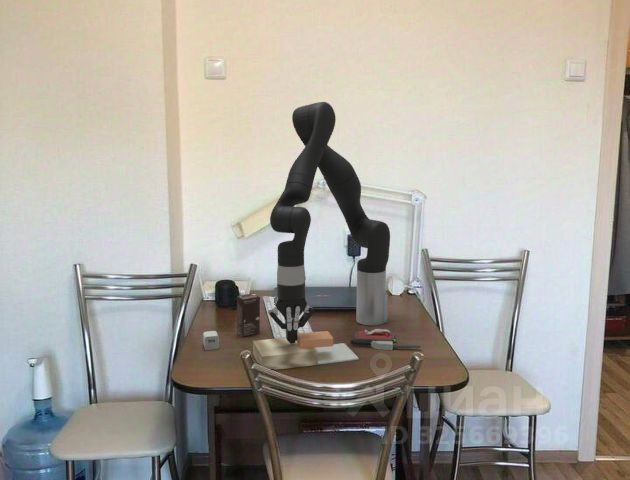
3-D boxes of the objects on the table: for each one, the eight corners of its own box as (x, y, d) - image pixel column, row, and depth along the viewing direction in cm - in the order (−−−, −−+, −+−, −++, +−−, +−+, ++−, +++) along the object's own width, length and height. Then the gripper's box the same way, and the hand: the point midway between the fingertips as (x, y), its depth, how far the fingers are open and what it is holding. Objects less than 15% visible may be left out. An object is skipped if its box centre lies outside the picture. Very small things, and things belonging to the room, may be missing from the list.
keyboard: (316, 342, 178) (316, 335, 178) (274, 345, 176) (274, 337, 176) (296, 300, 221) (296, 293, 220) (262, 301, 219) (262, 295, 219)
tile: (328, 338, 169) (328, 331, 168) (333, 346, 163) (333, 338, 162) (296, 340, 167) (296, 333, 166) (300, 348, 161) (300, 340, 160)
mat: (344, 344, 175) (344, 343, 175) (358, 359, 164) (358, 358, 164) (305, 348, 172) (305, 347, 172) (318, 364, 160) (318, 363, 160)
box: (243, 337, 180) (242, 299, 178) (236, 333, 184) (235, 295, 182) (261, 334, 184) (260, 296, 181) (254, 329, 187) (253, 292, 185)
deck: (305, 348, 172) (305, 335, 171) (317, 364, 160) (317, 350, 160) (253, 354, 167) (252, 340, 167) (262, 371, 156) (262, 356, 155)
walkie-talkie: (349, 350, 172) (420, 352, 170) (350, 335, 171) (421, 337, 169) (350, 339, 180) (418, 341, 178) (351, 325, 179) (419, 327, 178)
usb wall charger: (204, 350, 171) (204, 336, 170) (202, 342, 177) (202, 329, 177) (218, 349, 172) (218, 335, 171) (216, 340, 178) (215, 327, 178)
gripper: (311, 275, 166) (311, 335, 169) (263, 279, 162) (265, 340, 165) (319, 282, 159) (319, 344, 162) (269, 286, 155) (270, 349, 158)
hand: (291, 342), depth 164 cm, fingers closed
